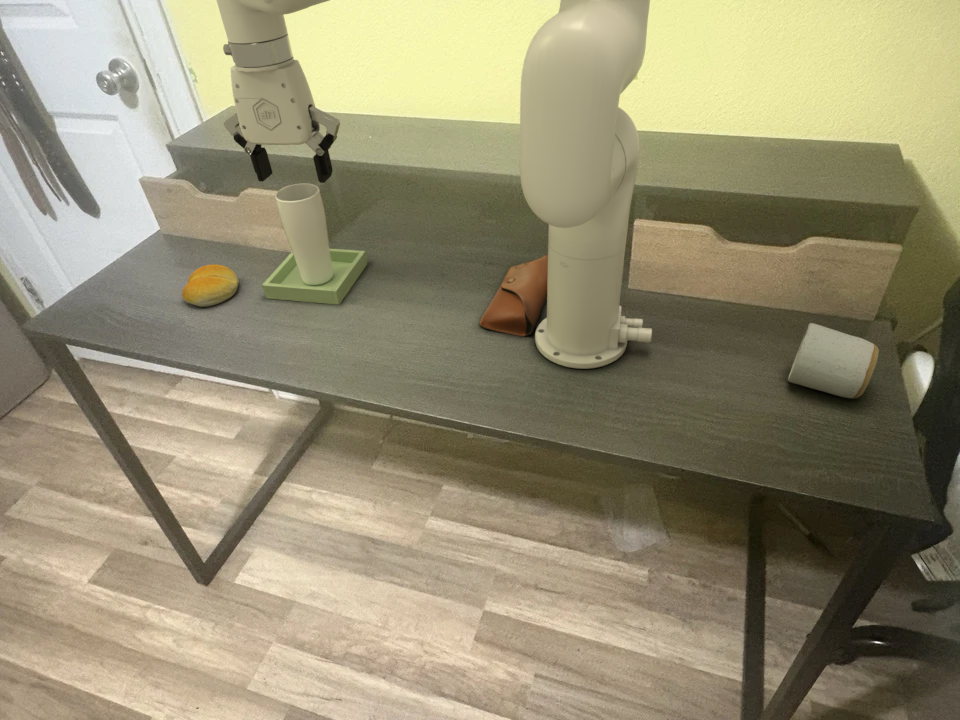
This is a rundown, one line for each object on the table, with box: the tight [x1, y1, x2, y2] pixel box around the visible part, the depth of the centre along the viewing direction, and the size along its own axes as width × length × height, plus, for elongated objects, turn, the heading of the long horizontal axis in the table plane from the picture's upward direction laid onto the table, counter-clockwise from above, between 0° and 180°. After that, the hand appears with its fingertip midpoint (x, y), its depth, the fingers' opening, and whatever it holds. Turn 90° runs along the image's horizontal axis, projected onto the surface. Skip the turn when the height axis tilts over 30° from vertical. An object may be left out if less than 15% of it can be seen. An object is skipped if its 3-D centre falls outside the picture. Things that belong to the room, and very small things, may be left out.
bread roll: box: [181, 263, 240, 307], centre depth 102 cm, size 8×9×4 cm
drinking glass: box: [274, 182, 334, 285], centre depth 99 cm, size 7×7×15 cm
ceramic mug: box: [787, 322, 880, 399], centre depth 77 cm, size 11×8×8 cm
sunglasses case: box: [478, 253, 548, 338], centre depth 96 cm, size 18×7×7 cm, turn 163°
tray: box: [261, 248, 369, 306], centre depth 104 cm, size 13×13×2 cm
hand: (295, 178), depth 93 cm, fingers open, 9 cm apart
